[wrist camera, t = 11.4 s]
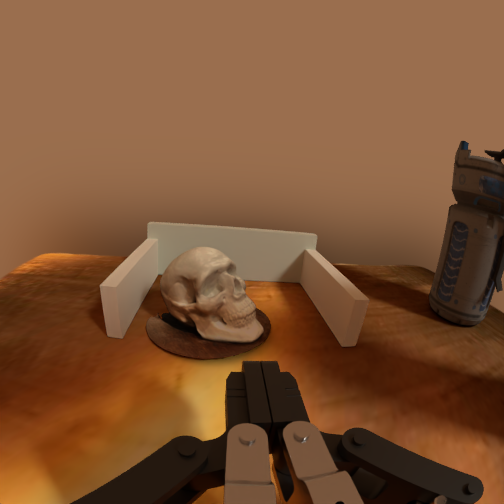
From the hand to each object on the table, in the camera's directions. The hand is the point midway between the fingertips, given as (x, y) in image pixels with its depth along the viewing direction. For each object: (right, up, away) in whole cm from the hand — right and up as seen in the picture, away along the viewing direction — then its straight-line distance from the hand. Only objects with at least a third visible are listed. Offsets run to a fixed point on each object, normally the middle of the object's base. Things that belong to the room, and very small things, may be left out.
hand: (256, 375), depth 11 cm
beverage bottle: (+30, -4, +19) cm, 35 cm away
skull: (-5, -2, +15) cm, 15 cm away
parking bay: (-2, -1, +19) cm, 19 cm away
